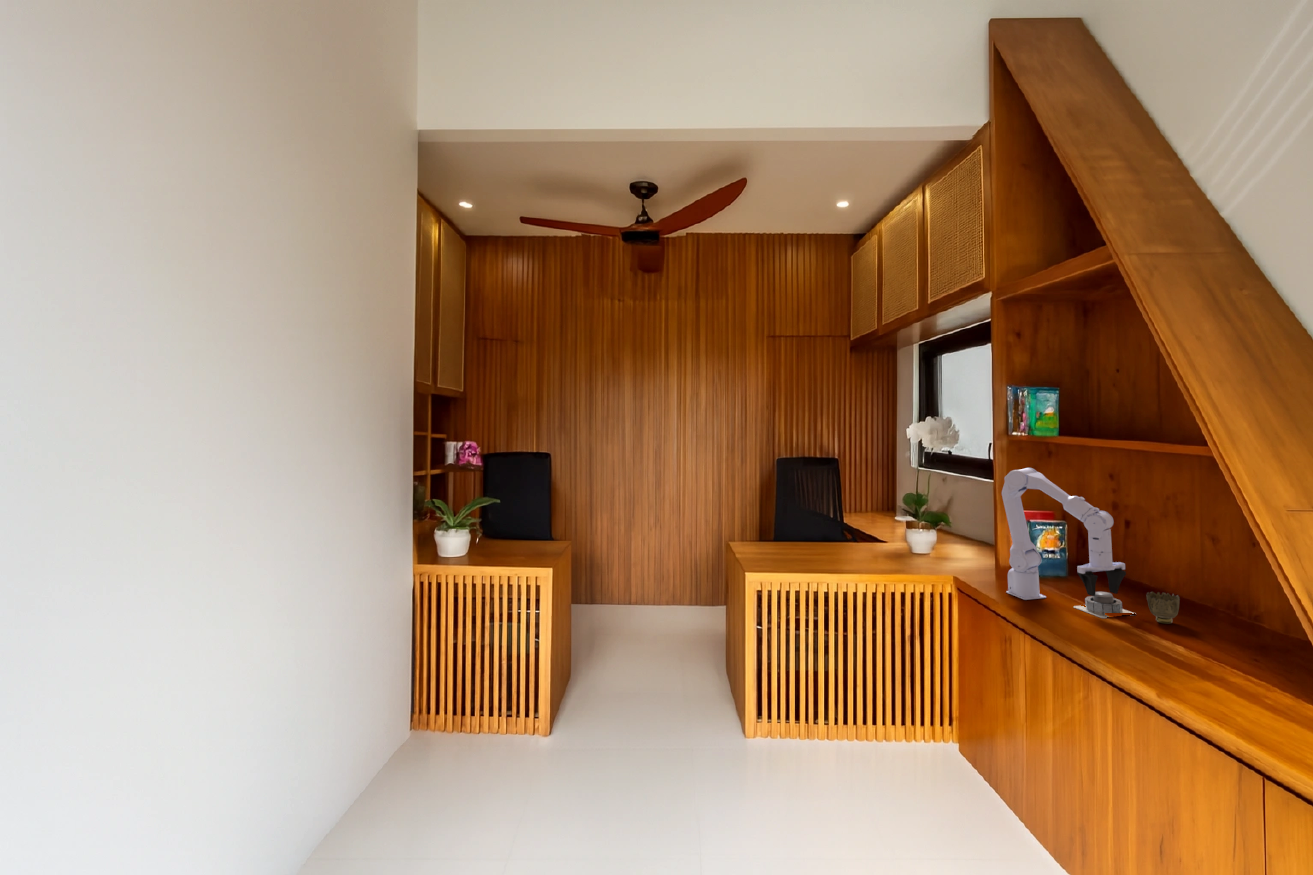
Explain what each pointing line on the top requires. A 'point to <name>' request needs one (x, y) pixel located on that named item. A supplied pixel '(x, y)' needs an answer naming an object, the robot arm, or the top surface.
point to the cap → (1103, 597)
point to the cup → (1163, 606)
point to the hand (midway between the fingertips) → (1102, 593)
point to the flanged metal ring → (1101, 607)
